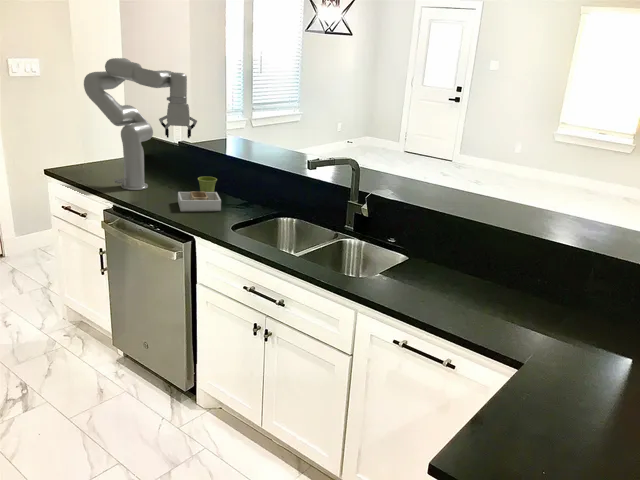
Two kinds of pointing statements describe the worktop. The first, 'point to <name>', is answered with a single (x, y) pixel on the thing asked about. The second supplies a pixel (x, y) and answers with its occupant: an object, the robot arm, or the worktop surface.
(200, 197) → the small crate
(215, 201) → the box
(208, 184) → the plant pot
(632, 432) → the worktop surface
